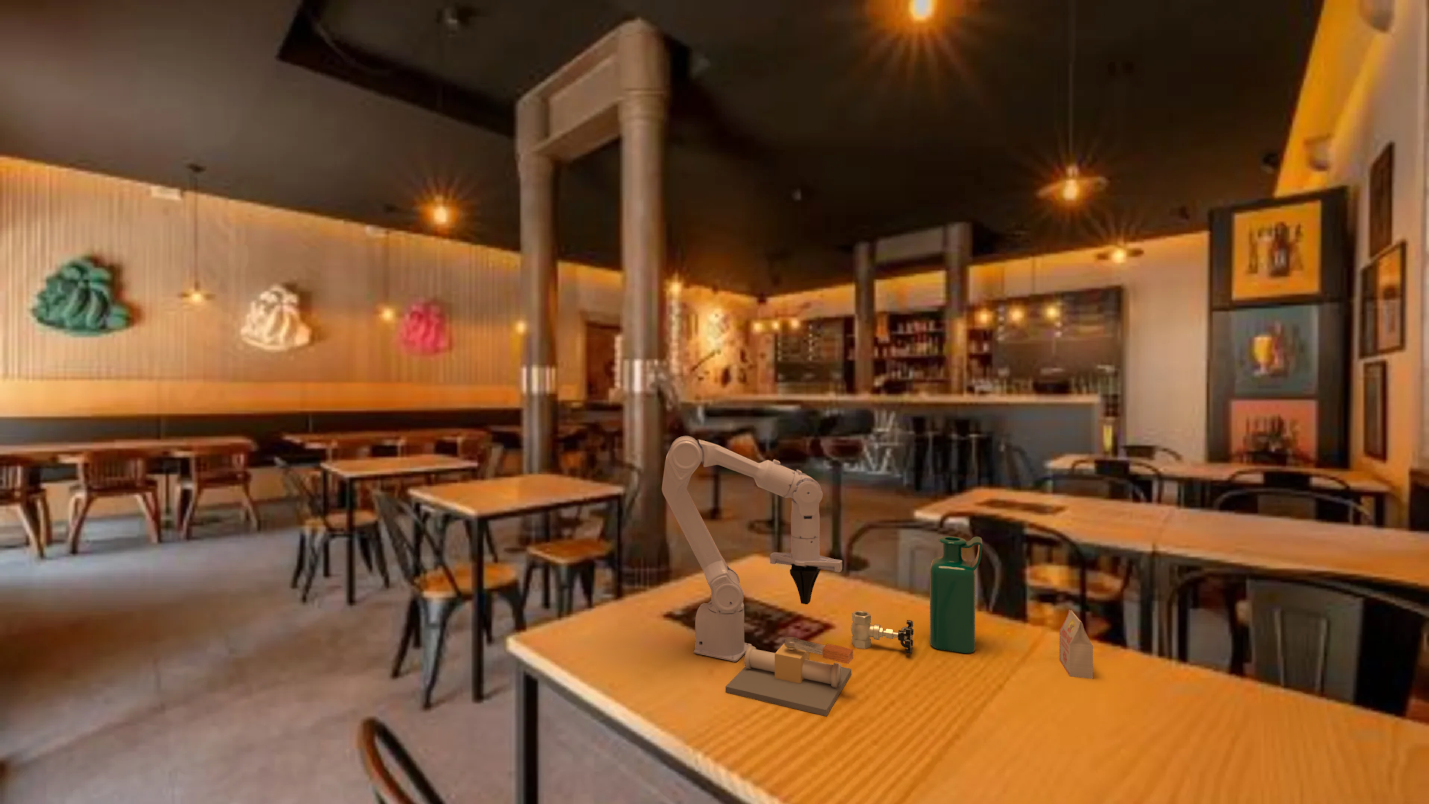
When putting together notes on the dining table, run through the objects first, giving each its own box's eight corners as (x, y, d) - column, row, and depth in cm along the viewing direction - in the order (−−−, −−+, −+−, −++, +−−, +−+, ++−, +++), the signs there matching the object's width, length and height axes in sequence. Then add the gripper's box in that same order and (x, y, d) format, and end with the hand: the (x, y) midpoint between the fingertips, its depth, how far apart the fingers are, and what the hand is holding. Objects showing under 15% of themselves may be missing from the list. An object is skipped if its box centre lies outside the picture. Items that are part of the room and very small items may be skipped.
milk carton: (1081, 662, 117) (1081, 610, 116) (1092, 678, 110) (1093, 623, 110) (1059, 660, 118) (1059, 608, 117) (1069, 676, 111) (1070, 621, 111)
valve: (847, 650, 123) (910, 660, 118) (847, 617, 123) (910, 626, 118) (854, 637, 129) (913, 647, 124) (854, 606, 129) (913, 615, 124)
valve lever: (782, 650, 110) (782, 639, 110) (788, 644, 112) (788, 634, 112) (847, 666, 103) (847, 654, 103) (853, 660, 105) (853, 649, 105)
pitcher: (929, 649, 123) (929, 540, 122) (931, 633, 131) (931, 531, 130) (982, 656, 119) (982, 544, 119) (981, 640, 127) (981, 534, 127)
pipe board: (725, 692, 106) (725, 661, 106) (760, 655, 121) (760, 628, 121) (826, 716, 98) (826, 683, 98) (851, 674, 113) (851, 645, 112)
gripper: (764, 536, 123) (764, 603, 123) (835, 544, 116) (835, 614, 117) (776, 528, 129) (777, 592, 130) (844, 535, 123) (845, 603, 123)
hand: (805, 602), depth 124 cm, fingers closed
